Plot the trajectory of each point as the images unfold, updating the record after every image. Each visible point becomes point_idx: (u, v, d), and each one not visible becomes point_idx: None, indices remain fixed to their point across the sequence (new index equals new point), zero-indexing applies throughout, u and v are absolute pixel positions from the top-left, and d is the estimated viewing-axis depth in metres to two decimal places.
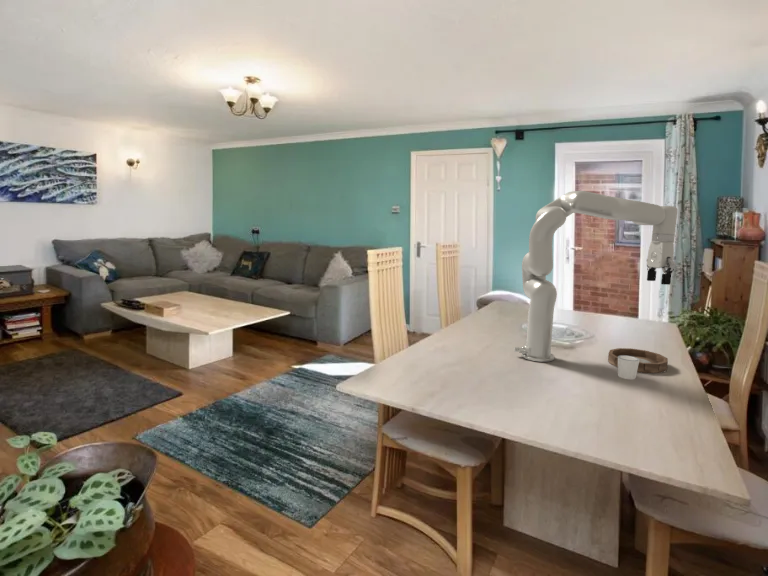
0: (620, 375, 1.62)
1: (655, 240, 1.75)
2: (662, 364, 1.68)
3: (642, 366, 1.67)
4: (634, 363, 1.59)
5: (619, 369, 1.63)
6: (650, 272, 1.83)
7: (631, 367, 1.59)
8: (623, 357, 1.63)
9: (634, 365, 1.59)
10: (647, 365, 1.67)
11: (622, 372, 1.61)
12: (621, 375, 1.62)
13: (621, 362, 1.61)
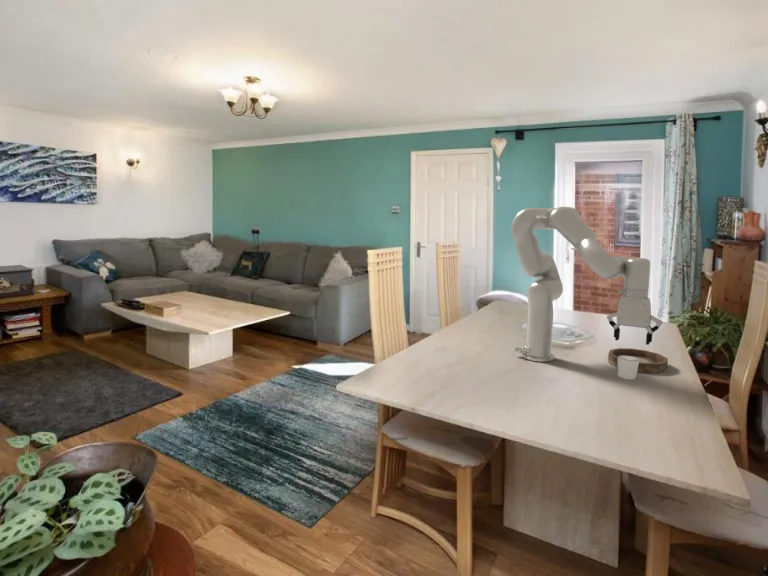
0: (620, 375, 1.62)
1: (637, 297, 1.55)
2: (662, 364, 1.68)
3: (642, 366, 1.67)
4: (634, 363, 1.59)
5: (619, 369, 1.63)
6: (618, 331, 1.62)
7: (631, 367, 1.59)
8: (623, 357, 1.63)
9: (634, 365, 1.59)
10: (647, 365, 1.67)
11: (622, 372, 1.61)
12: (621, 375, 1.62)
13: (621, 362, 1.61)
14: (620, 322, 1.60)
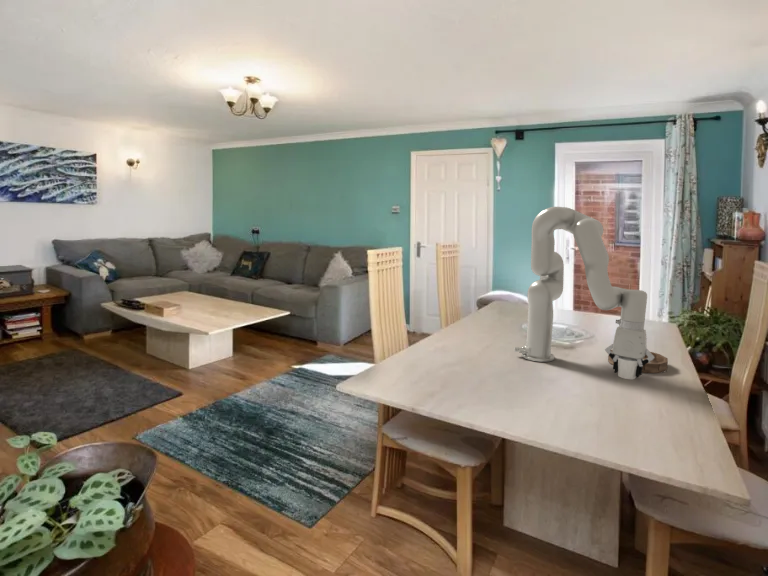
0: (620, 375, 1.62)
1: (633, 329, 1.57)
2: (662, 364, 1.68)
3: None
4: (634, 363, 1.59)
5: (619, 369, 1.63)
6: (617, 363, 1.64)
7: (631, 367, 1.59)
8: (623, 357, 1.63)
9: (634, 365, 1.59)
10: (647, 365, 1.67)
11: (622, 372, 1.61)
12: (621, 375, 1.62)
13: (621, 362, 1.61)
14: (616, 352, 1.62)
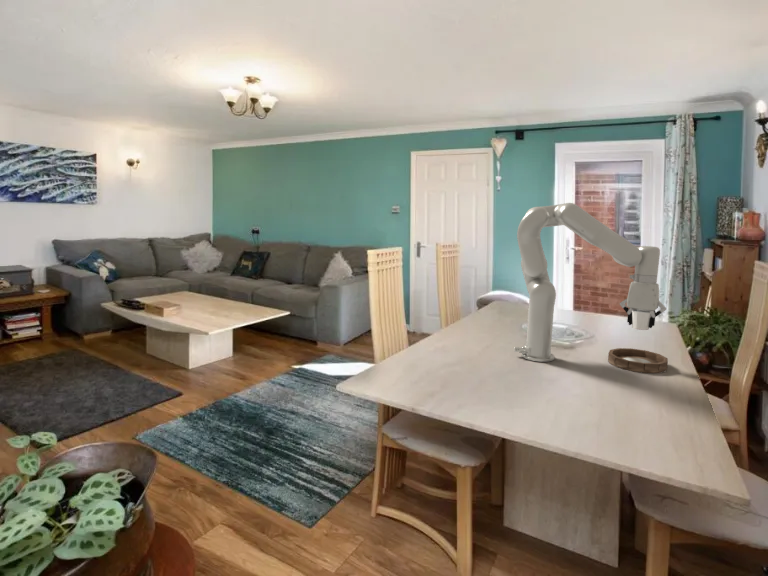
0: (634, 327, 1.74)
1: (647, 282, 1.68)
2: (662, 364, 1.68)
3: (642, 366, 1.67)
4: (647, 314, 1.70)
5: (633, 321, 1.74)
6: (631, 316, 1.75)
7: (645, 318, 1.71)
8: (637, 310, 1.74)
9: (647, 316, 1.71)
10: (647, 365, 1.67)
11: (636, 323, 1.73)
12: (635, 326, 1.73)
13: (635, 314, 1.72)
14: (630, 305, 1.73)
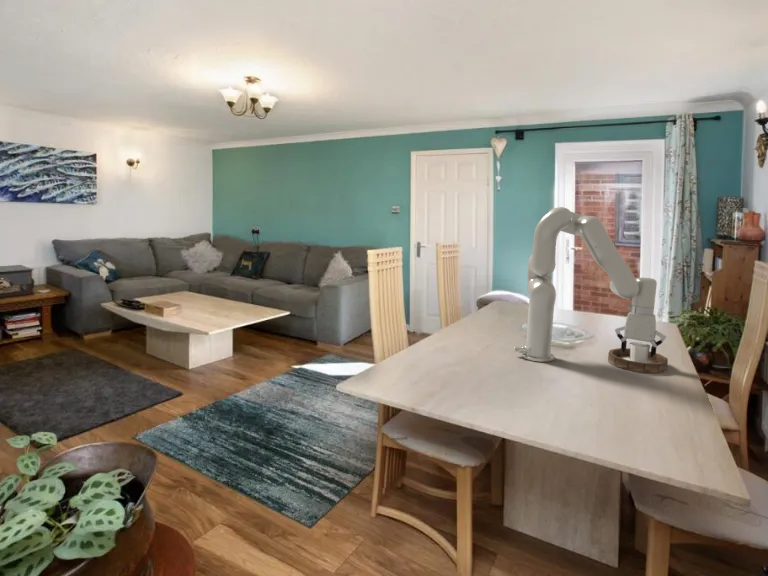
0: (632, 360, 1.76)
1: (644, 314, 1.70)
2: (662, 364, 1.68)
3: (642, 366, 1.67)
4: (645, 349, 1.72)
5: (631, 355, 1.76)
6: (625, 343, 1.78)
7: (642, 352, 1.73)
8: (635, 343, 1.76)
9: (645, 350, 1.73)
10: (647, 365, 1.67)
11: (634, 357, 1.75)
12: (633, 360, 1.75)
13: (633, 348, 1.74)
14: (627, 336, 1.75)
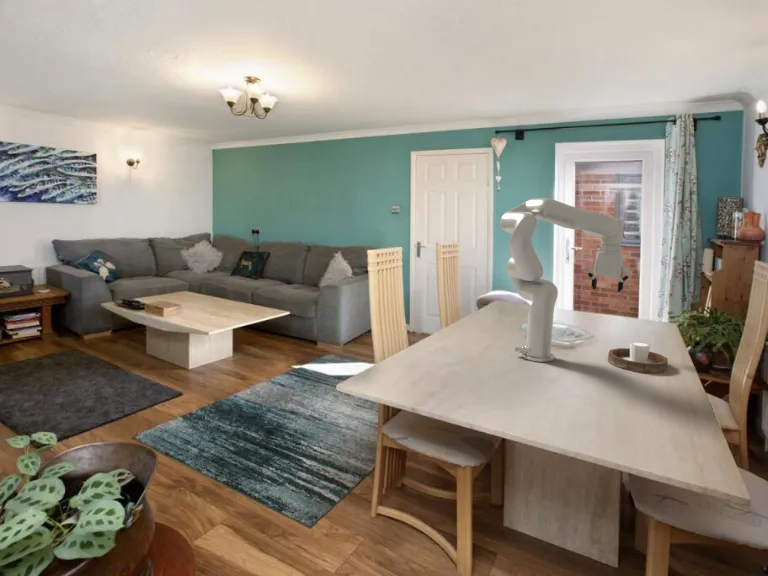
0: (632, 360, 1.76)
1: (611, 251, 1.84)
2: (662, 364, 1.68)
3: (642, 366, 1.67)
4: (645, 349, 1.72)
5: (631, 354, 1.76)
6: (595, 281, 1.91)
7: (642, 352, 1.73)
8: (635, 343, 1.76)
9: (645, 350, 1.73)
10: (647, 365, 1.67)
11: (634, 357, 1.75)
12: (633, 360, 1.75)
13: (633, 348, 1.74)
14: (597, 273, 1.89)
